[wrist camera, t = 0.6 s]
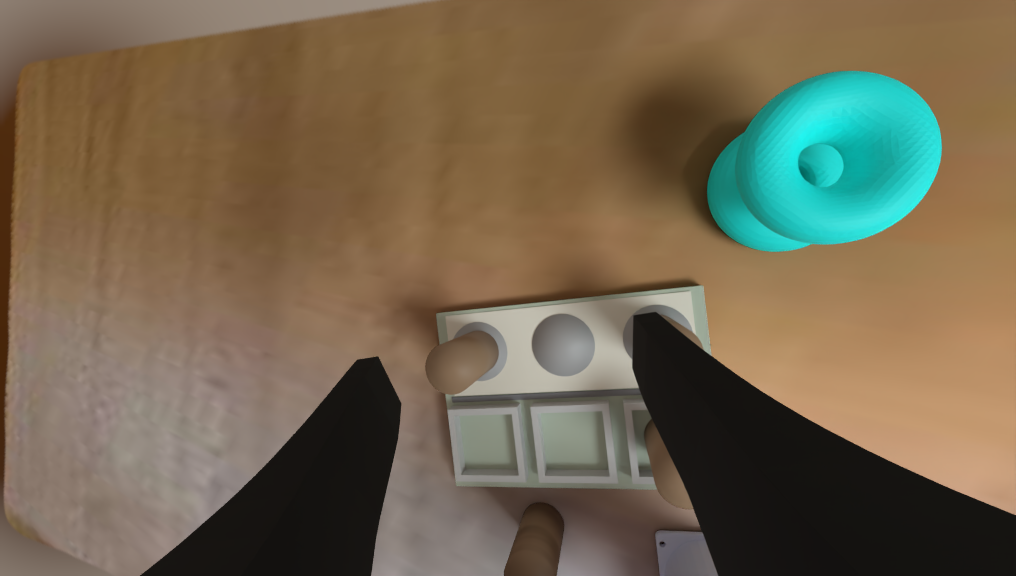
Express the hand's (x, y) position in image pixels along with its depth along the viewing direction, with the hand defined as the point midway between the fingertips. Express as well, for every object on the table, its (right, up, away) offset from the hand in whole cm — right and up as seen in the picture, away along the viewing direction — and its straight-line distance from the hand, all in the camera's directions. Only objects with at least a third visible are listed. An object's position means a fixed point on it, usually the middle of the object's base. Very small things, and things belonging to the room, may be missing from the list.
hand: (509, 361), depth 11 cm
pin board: (+6, -7, +25) cm, 26 cm away
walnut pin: (+3, -20, +26) cm, 33 cm away
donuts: (+21, +10, +20) cm, 31 cm away
